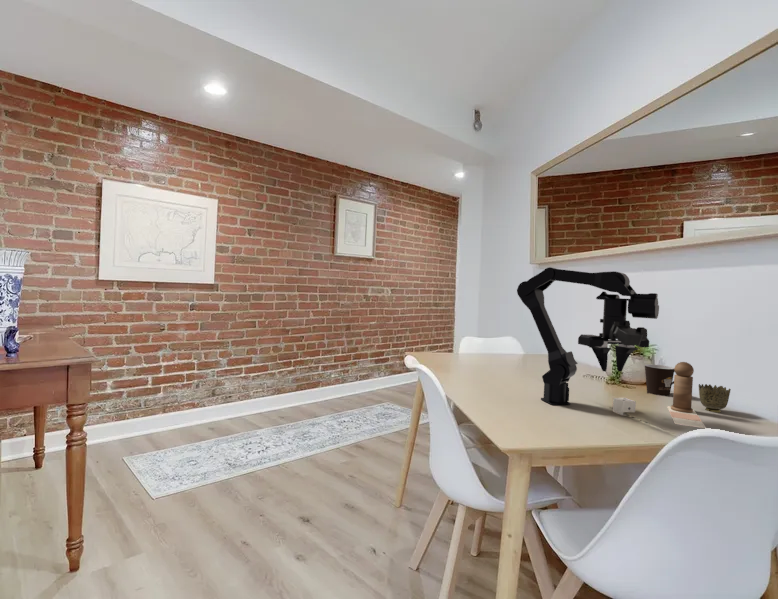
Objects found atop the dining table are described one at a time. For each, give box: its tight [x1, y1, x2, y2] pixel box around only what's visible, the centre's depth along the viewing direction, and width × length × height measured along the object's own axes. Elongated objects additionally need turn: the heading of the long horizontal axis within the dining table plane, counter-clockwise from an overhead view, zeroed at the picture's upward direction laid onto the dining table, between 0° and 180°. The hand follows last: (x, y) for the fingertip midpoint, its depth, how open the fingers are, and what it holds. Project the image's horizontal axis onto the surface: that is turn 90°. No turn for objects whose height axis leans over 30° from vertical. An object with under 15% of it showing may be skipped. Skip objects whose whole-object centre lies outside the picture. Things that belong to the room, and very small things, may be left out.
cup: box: [698, 383, 731, 413], centre depth 124 cm, size 8×7×8 cm
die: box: [612, 397, 637, 416], centre depth 121 cm, size 4×4×4 cm
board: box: [666, 405, 707, 429], centre depth 117 cm, size 21×8×1 cm, turn 151°
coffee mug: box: [644, 363, 675, 397], centre depth 144 cm, size 12×9×10 cm
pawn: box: [671, 361, 695, 414], centre depth 123 cm, size 5×5×14 cm
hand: (611, 371), depth 120 cm, fingers open, 5 cm apart
